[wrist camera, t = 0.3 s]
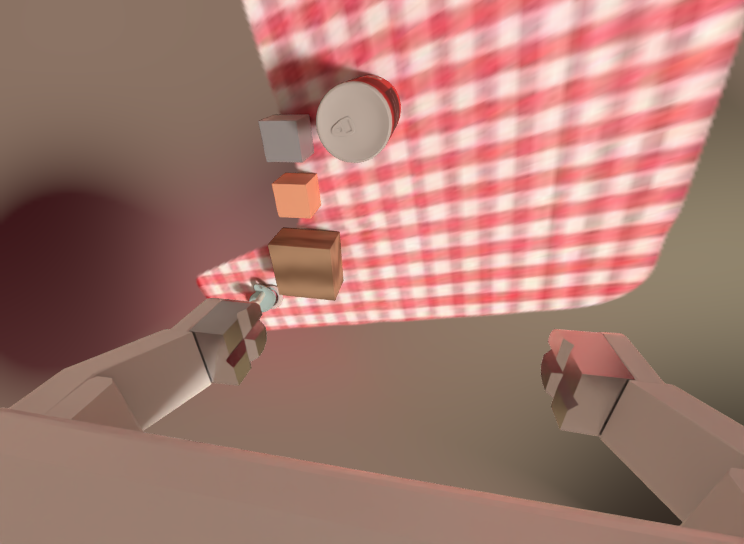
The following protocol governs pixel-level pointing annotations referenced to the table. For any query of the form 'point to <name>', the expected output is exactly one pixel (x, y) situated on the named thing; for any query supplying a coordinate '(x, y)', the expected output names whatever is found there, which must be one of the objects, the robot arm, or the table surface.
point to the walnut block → (307, 263)
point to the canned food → (358, 118)
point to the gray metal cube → (287, 137)
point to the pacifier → (266, 297)
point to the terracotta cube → (297, 195)
